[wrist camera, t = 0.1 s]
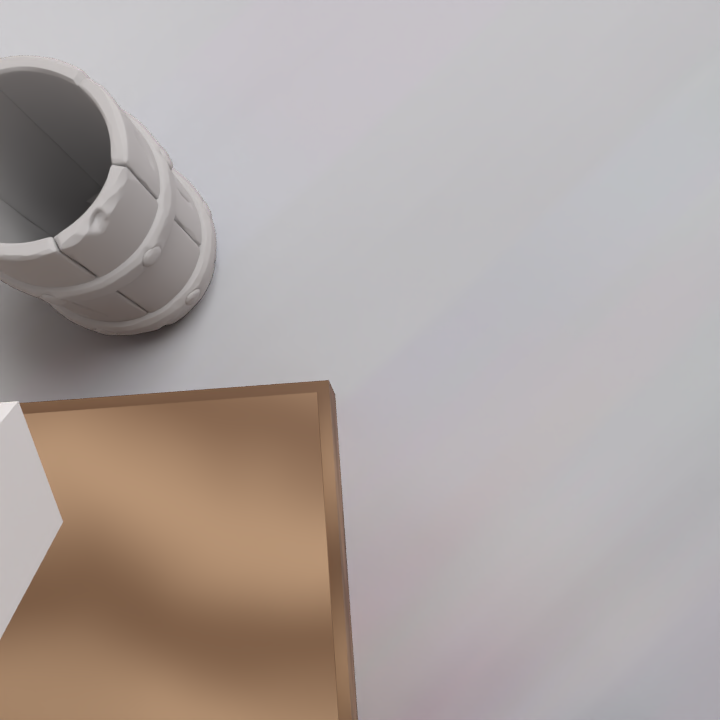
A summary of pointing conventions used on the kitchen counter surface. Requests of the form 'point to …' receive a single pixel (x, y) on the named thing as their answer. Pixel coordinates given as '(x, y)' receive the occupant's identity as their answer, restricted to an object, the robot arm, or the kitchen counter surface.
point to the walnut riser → (187, 561)
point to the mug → (94, 205)
